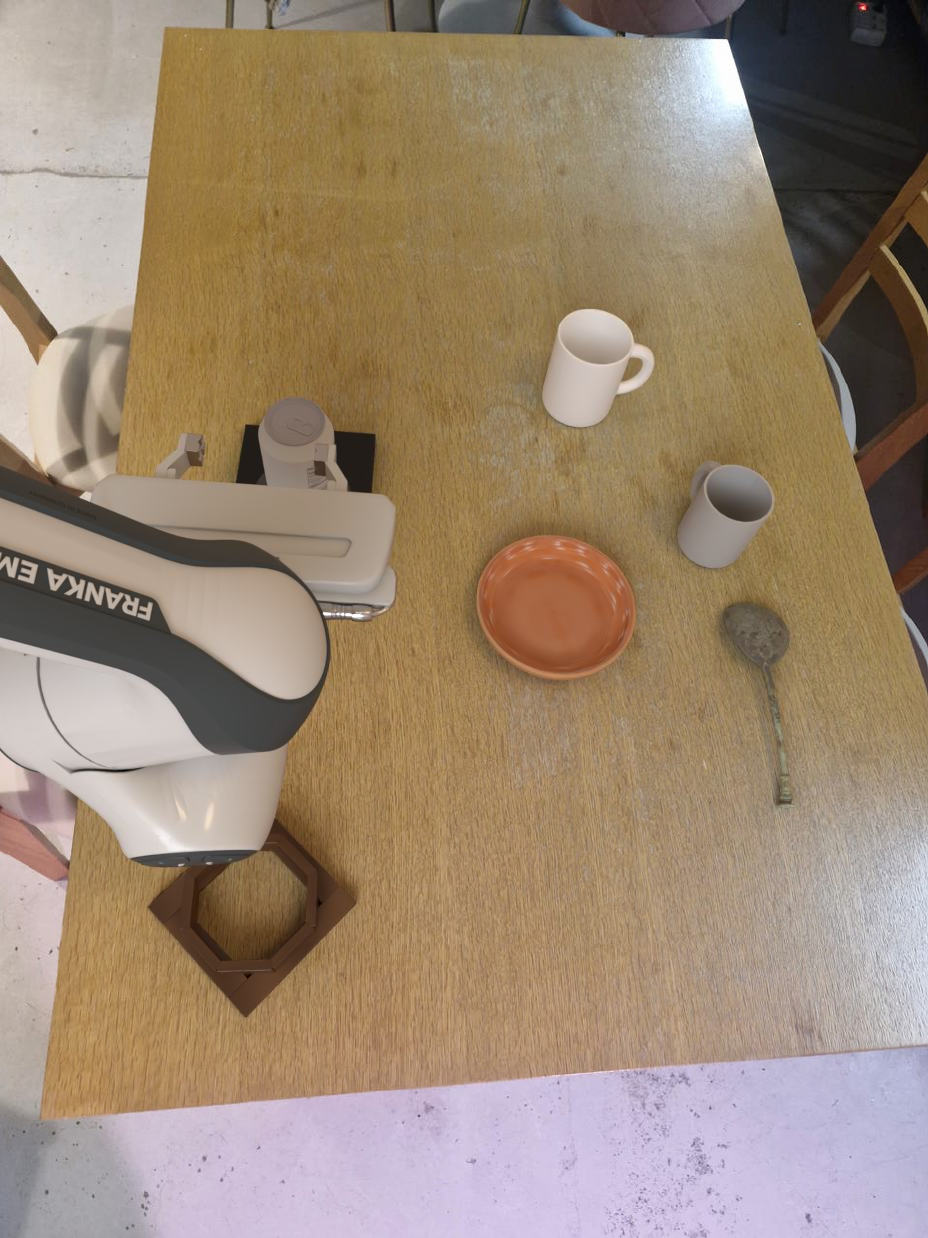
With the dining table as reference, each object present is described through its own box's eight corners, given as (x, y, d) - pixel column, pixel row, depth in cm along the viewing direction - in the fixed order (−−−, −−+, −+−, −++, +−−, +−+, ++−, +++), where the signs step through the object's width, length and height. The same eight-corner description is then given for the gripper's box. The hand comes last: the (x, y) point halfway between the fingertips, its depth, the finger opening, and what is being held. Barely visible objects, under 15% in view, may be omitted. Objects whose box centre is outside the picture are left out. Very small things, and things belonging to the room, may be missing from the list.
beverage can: (288, 461, 90) (277, 381, 79) (348, 483, 89) (345, 406, 78) (258, 510, 87) (242, 434, 76) (320, 534, 86) (313, 461, 75)
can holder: (246, 1018, 67) (241, 1016, 64) (149, 908, 70) (140, 902, 67) (356, 903, 72) (356, 897, 69) (261, 805, 75) (257, 796, 72)
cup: (690, 576, 90) (721, 530, 82) (655, 500, 94) (681, 449, 86) (751, 563, 92) (786, 516, 84) (713, 488, 96) (744, 437, 88)
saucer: (444, 586, 87) (446, 571, 84) (572, 526, 91) (578, 510, 89) (528, 716, 81) (533, 705, 78) (659, 645, 86) (668, 632, 83)
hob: (364, 583, 86) (364, 573, 84) (223, 575, 85) (220, 564, 83) (375, 442, 94) (375, 429, 92) (247, 432, 93) (244, 420, 91)
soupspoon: (775, 607, 90) (714, 606, 90) (787, 591, 87) (724, 589, 87) (816, 812, 79) (747, 810, 79) (832, 801, 76) (760, 799, 76)
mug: (633, 374, 102) (658, 308, 93) (646, 429, 99) (675, 365, 90) (535, 375, 101) (552, 308, 92) (546, 430, 97) (564, 366, 88)
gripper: (396, 600, 53) (406, 426, 59) (57, 579, 51) (105, 402, 58) (393, 643, 59) (402, 480, 65) (87, 625, 57) (127, 459, 63)
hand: (260, 443), depth 61 cm, fingers open, 8 cm apart
